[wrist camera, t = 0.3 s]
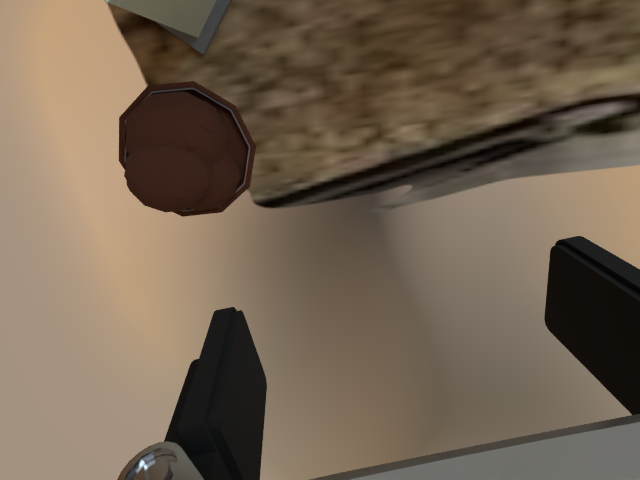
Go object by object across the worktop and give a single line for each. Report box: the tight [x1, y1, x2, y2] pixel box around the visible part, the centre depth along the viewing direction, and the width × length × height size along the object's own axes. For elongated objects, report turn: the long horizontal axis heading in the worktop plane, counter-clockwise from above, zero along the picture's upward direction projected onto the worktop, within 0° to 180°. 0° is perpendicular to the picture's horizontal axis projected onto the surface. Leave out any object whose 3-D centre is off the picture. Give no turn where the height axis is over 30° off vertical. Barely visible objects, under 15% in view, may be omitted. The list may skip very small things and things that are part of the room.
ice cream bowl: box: [119, 81, 256, 216], centre depth 32 cm, size 11×11×15 cm
